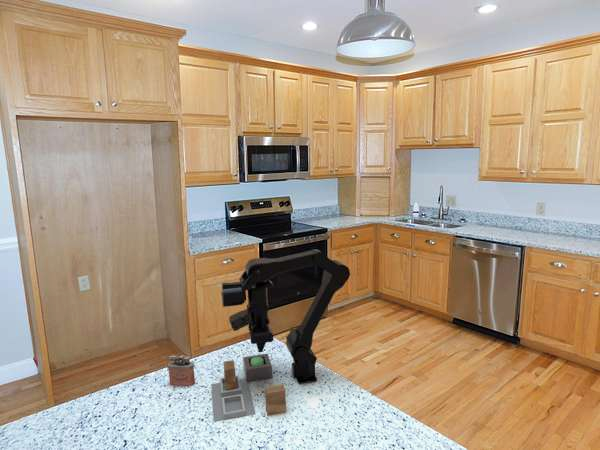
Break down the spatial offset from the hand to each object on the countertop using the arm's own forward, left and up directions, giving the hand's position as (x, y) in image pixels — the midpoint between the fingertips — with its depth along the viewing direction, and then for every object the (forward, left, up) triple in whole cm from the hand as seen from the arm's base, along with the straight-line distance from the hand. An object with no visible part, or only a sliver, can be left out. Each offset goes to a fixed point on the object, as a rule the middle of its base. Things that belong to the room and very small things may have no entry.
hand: (260, 351), depth 118 cm
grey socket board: (+9, +6, -11) cm, 16 cm away
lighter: (+23, -6, -11) cm, 27 cm away
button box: (0, -5, -11) cm, 12 cm away
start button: (0, -5, -9) cm, 10 cm away
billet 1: (+9, +1, -10) cm, 14 cm away
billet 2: (-2, +15, -11) cm, 18 cm away
